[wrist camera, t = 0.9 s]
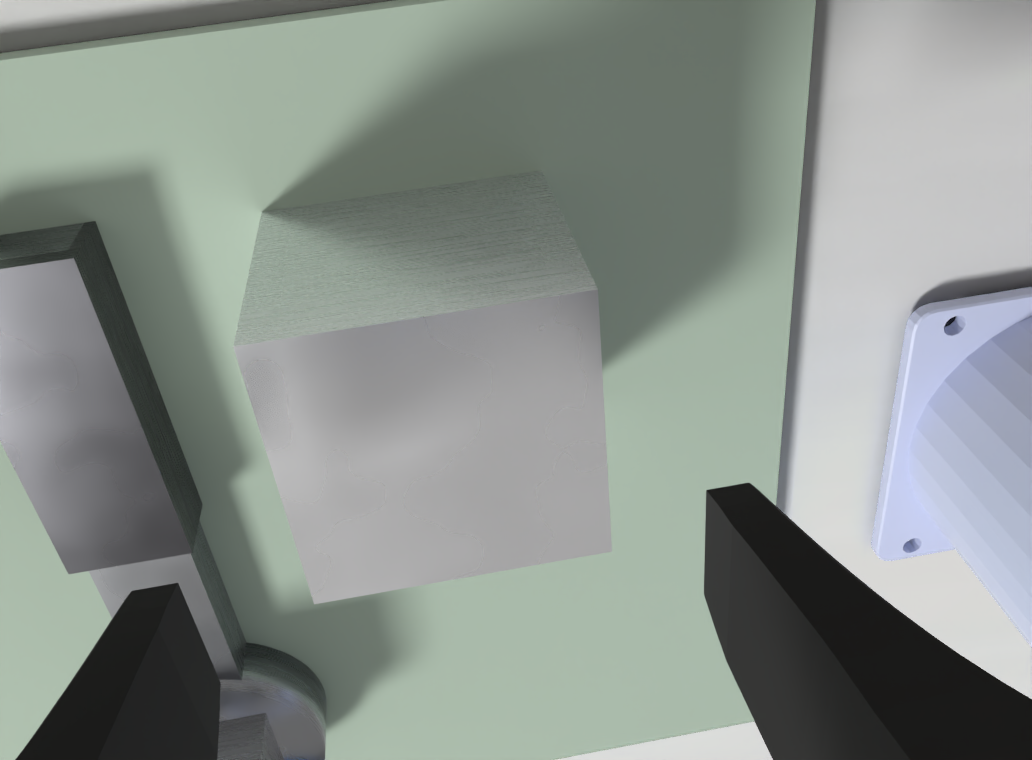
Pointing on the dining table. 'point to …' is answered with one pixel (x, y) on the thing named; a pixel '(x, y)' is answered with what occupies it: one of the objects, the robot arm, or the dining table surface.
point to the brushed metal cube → (428, 384)
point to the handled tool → (127, 476)
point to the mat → (413, 165)
